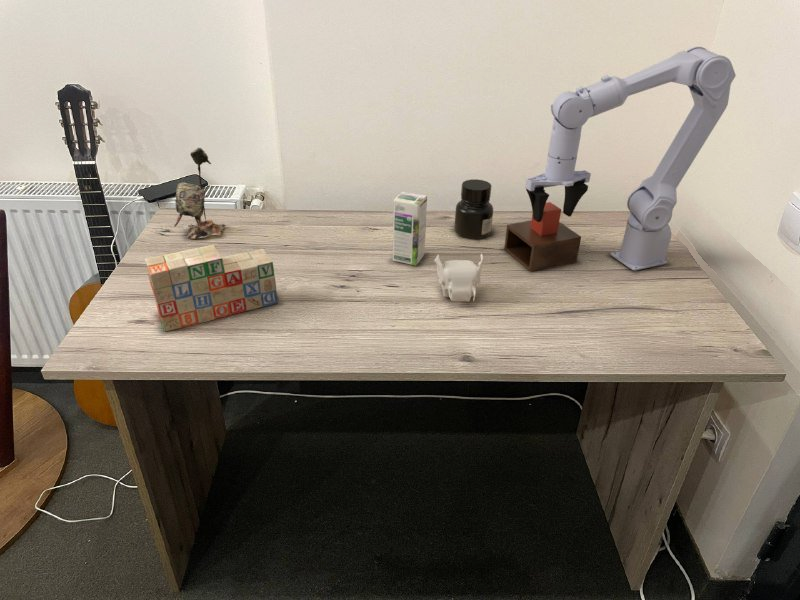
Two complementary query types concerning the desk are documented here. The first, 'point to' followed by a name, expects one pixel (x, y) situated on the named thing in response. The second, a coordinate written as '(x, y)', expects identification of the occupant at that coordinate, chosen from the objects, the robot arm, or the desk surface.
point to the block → (547, 220)
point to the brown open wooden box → (541, 246)
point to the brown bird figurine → (195, 203)
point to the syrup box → (409, 227)
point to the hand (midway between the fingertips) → (552, 217)
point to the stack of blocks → (209, 284)
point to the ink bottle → (474, 210)
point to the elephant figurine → (458, 278)
